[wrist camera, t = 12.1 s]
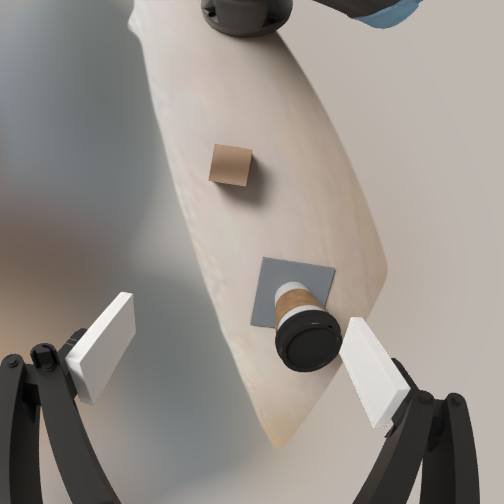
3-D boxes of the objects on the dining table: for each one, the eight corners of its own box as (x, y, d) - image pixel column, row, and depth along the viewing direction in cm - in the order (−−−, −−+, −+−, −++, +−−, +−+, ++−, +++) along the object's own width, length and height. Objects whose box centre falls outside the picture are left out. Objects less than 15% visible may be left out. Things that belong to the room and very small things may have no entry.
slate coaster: (262, 257, 43) (263, 258, 42) (333, 267, 44) (334, 269, 43) (250, 322, 46) (250, 324, 46) (315, 329, 47) (316, 331, 46)
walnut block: (218, 148, 38) (215, 144, 34) (251, 153, 39) (252, 149, 34) (212, 180, 40) (208, 180, 35) (245, 185, 40) (245, 186, 35)
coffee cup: (326, 287, 44) (359, 334, 30) (299, 327, 46) (319, 383, 32) (283, 265, 43) (303, 308, 28) (257, 307, 45) (263, 364, 30)
